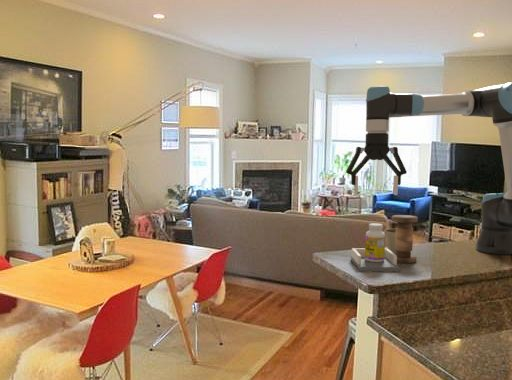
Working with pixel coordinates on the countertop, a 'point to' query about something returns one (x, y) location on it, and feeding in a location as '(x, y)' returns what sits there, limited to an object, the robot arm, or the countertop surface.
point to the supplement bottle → (375, 243)
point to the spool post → (404, 238)
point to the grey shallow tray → (385, 266)
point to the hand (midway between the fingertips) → (375, 194)
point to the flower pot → (391, 239)
